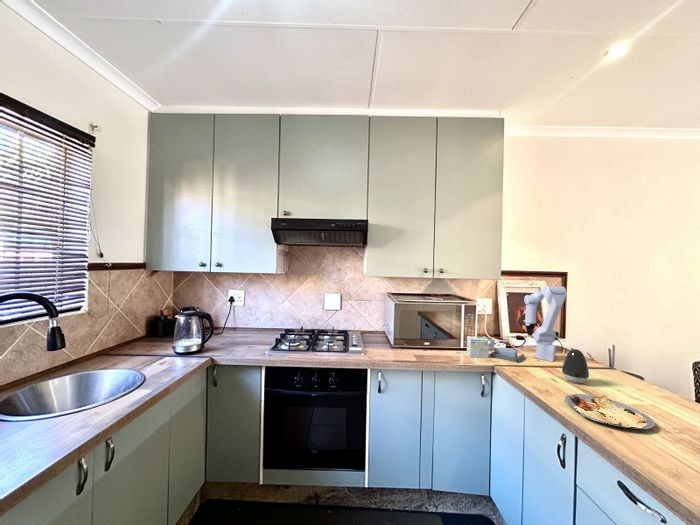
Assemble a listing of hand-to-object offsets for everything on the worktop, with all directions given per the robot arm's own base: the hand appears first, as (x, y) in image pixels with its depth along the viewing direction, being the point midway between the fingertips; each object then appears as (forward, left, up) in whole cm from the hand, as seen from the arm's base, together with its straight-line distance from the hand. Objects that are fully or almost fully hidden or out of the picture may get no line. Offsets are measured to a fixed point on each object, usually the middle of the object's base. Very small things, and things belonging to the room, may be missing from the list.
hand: (529, 335), depth 196 cm
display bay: (+5, +27, -9) cm, 29 cm away
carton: (+5, +28, -10) cm, 30 cm away
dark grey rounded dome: (-29, +43, -10) cm, 53 cm away
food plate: (-42, +74, -10) cm, 86 cm away
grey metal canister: (+18, +18, -10) cm, 27 cm away
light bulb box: (+18, +39, -10) cm, 44 cm away
